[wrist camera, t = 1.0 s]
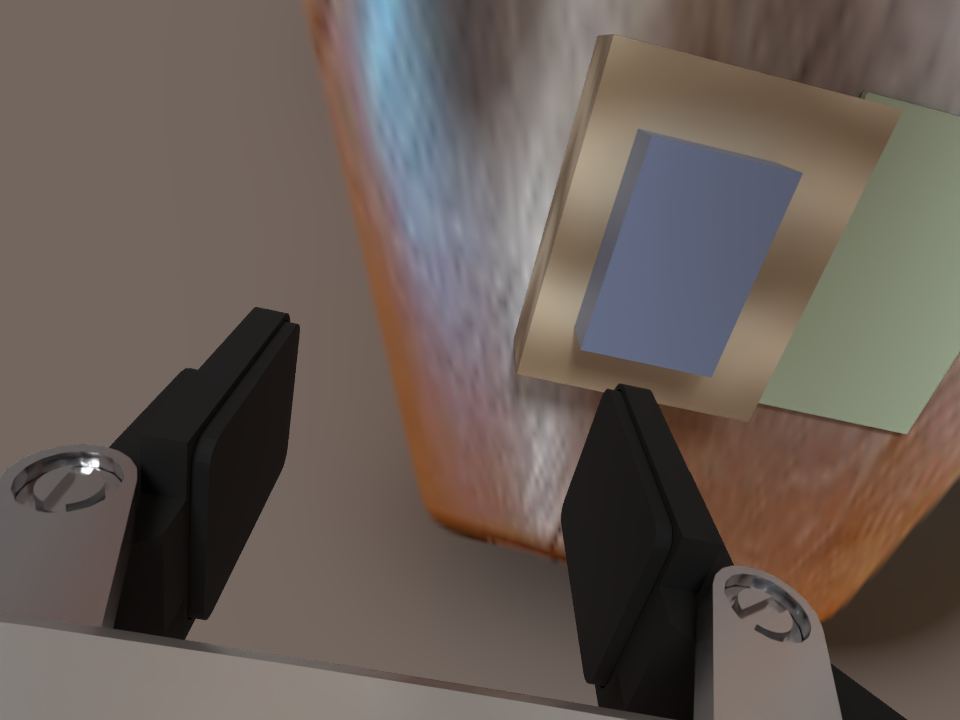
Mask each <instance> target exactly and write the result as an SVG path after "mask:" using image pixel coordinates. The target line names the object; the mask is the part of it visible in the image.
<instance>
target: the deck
mask: <svg viewBox="0 0 960 720" xmlns="http://www.w3.org/2000/svg"><path fill="white" fill-rule="evenodd" d="M902 112H903V109H899V108H895V107H892V106H888V105H884V104H880V103H876V102H872V101H869V100H865V99H861V98H857V97H853V96H849V95H845V94H842V93H838V92H834V91H830V90H826V89H822V88H819V87H815V86H811V85H807V84H803V83H799V82H796V81H792V80H788V79H784V78H780V77H776V76H772V75H769V74H765V73H761V72H757V71H753V70H749V69H746V68H742V67H738V66H734V65H730V64H726V63H722V62H719V61H715V60H711V59H707V58H703V57H699V56H696V55H692V54H688V53H684V52H680V51H676V50H673V49H669V48H665V47H661V46H657V45H653V44H649V43H646V42H642V41H638V40H634V39H630V38H626V37H623V36H619V35H615V34H612V35H602V36H598V37H597V41H596V44H595V48H594V52H593V55H592V59H591V63H590V66H589V70H588V73H587V77H586V81H585V84H584V88H583V91H582V95H581V99H580V102H579V106H578V110H577V113H576V117H575V120H574V124H573V128H572V131H571V135H570V138H569V142H568V146H567V149H566V153H565V157H564V160H563V164H562V167H561V171H560V175H559V178H558V182H557V185H556V189H555V193H554V196H553V200H552V204H551V207H550V211H549V214H548V218H547V222H546V225H545V229H544V232H543V236H542V240H541V243H540V247H539V251H538V254H537V258H536V261H535V265H534V269H533V272H532V276H531V279H530V283H529V287H528V290H527V294H526V298H525V301H524V305H523V308H522V312H521V316H520V319H519V323H518V326H517V330H516V334H515V337H514V348H515V360H516V372H517V374H518V375H523V376H528V377H533V378H537V379H542V380H547V381H552V382H557V383H561V384H566V385H571V386H576V387H581V388H585V389H590V390H595V391H600V392H605V390H606V389H612V390H614V389H615V388H616V386H617V385H618V384H619V383H621V384H626V385H631V386H636V387H640V388H645V389H650V390H651V391H652V393H653V395H654V397H655V399H656V401H657V404H662V405H667V406H672V407H677V408H681V409H686V410H691V411H696V412H701V413H706V414H710V415H715V416H720V417H725V418H730V419H734V420H739V421H744V422H749V421H750V419H751V417H752V415H753V413H754V411H755V409H756V407H757V405H758V403H759V401H760V399H761V397H762V395H763V393H764V390H765V388H766V386H767V384H768V382H769V380H770V378H771V376H772V374H773V372H774V370H775V368H776V366H777V364H778V362H779V360H780V358H781V356H782V354H783V352H784V350H785V348H786V346H787V344H788V342H789V340H790V338H791V336H792V334H793V332H794V330H795V328H796V326H797V324H798V322H799V320H800V318H801V316H802V314H803V312H804V310H805V308H806V306H807V304H808V302H809V300H810V298H811V296H812V294H813V292H814V290H815V288H816V286H817V284H818V282H819V280H820V278H821V275H822V273H823V271H824V269H825V267H826V265H827V263H828V261H829V259H830V257H831V255H832V253H833V251H834V249H835V247H836V245H837V243H838V241H839V239H840V237H841V235H842V233H843V231H844V229H845V227H846V225H847V223H848V221H849V219H850V217H851V215H852V213H853V211H854V209H855V207H856V205H857V203H858V201H859V199H860V197H861V195H862V193H863V191H864V189H865V187H866V185H867V183H868V181H869V179H870V177H871V175H872V173H873V171H874V169H875V167H876V165H877V163H878V160H879V158H880V156H881V154H882V152H883V150H884V148H885V146H886V144H887V142H888V140H889V138H890V136H891V134H892V132H893V130H894V128H895V126H896V124H897V122H898V120H899V118H900V116H901V114H902ZM638 128H639V129H643V130H647V131H651V132H655V133H659V134H663V135H667V136H671V137H675V138H679V139H683V140H687V141H691V142H695V143H699V144H703V145H707V146H711V147H715V148H720V149H724V150H728V151H732V152H736V153H740V154H744V155H748V156H752V157H756V158H760V159H764V160H768V161H772V162H776V163H779V164H781V165H784V166H786V167H789V168H791V169H794V170H796V171H799V172H801V173H803V174H802V177H801V179H800V181H799V183H798V186H797V188H796V190H795V192H794V194H793V197H792V199H791V201H790V203H789V206H788V208H787V210H786V212H785V215H784V217H783V219H782V221H781V224H780V226H779V228H778V230H777V232H776V235H775V237H774V239H773V241H772V244H771V246H770V248H769V250H768V253H767V255H766V257H765V259H764V262H763V264H762V266H761V268H760V271H759V273H758V275H757V277H756V279H755V282H754V284H753V286H752V288H751V291H750V293H749V295H748V297H747V300H746V302H745V304H744V306H743V309H742V311H741V313H740V315H739V317H738V320H737V322H736V324H735V326H734V329H733V331H732V333H731V335H730V338H729V340H728V342H727V344H726V347H725V349H724V351H723V353H722V355H721V358H720V360H719V362H718V364H717V367H716V369H715V371H714V373H713V376H712V378H710V377H706V376H701V375H696V374H692V373H687V372H682V371H678V370H673V369H668V368H664V367H659V366H654V365H650V364H645V363H640V362H635V361H631V360H626V359H621V358H617V357H612V356H607V355H603V354H598V353H593V352H589V351H584V350H581V349H580V346H579V342H578V339H577V336H576V332H575V329H574V326H575V323H576V320H577V317H578V314H579V311H580V308H581V304H582V301H583V298H584V295H585V292H586V289H587V286H588V283H589V280H590V276H591V273H592V270H593V267H594V264H595V261H596V258H597V255H598V252H599V248H600V245H601V242H602V239H603V236H604V233H605V230H606V227H607V224H608V220H609V217H610V214H611V211H612V208H613V205H614V202H615V199H616V196H617V192H618V189H619V186H620V183H621V180H622V177H623V174H624V171H625V167H626V164H627V161H628V158H629V155H630V152H631V149H632V146H633V143H634V139H635V136H636V133H637V130H638Z"/></svg>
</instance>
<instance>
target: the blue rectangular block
mask: <svg viewBox="0 0 960 720" xmlns="http://www.w3.org/2000/svg"><path fill="white" fill-rule="evenodd" d="M802 174H803V173H801V172H799V171H796V170H794V169H791V168H789V167H786V166H784V165H781V164H779V163H776V162H772V161H768V160H764V159H760V158H756V157H752V156H748V155H744V154H740V153H736V152H732V151H728V150H724V149H720V148H715V147H711V146H707V145H703V144H699V143H695V142H691V141H687V140H683V139H679V138H675V137H671V136H667V135H663V134H659V133H655V132H651V131H647V130H643V129H639V128H638V130H637V133H636V136H635V139H634V143H633V146H632V149H631V152H630V155H629V158H628V161H627V164H626V167H625V171H624V174H623V177H622V180H621V183H620V186H619V189H618V192H617V196H616V199H615V202H614V205H613V208H612V211H611V214H610V217H609V220H608V224H607V227H606V230H605V233H604V236H603V239H602V242H601V245H600V248H599V252H598V255H597V258H596V261H595V264H594V267H593V270H592V273H591V276H590V280H589V283H588V286H587V289H586V292H585V295H584V298H583V301H582V304H581V308H580V311H579V314H578V317H577V320H576V323H575V326H574V329H575V332H576V336H577V339H578V342H579V346H580V349H581V350H584V351H589V352H593V353H598V354H603V355H607V356H612V357H617V358H621V359H626V360H631V361H635V362H640V363H645V364H650V365H654V366H659V367H664V368H668V369H673V370H678V371H682V372H687V373H692V374H696V375H701V376H706V377H710V378H712V376H713V373H714V371H715V369H716V367H717V364H718V362H719V360H720V358H721V355H722V353H723V351H724V349H725V347H726V344H727V342H728V340H729V338H730V335H731V333H732V331H733V329H734V326H735V324H736V322H737V320H738V317H739V315H740V313H741V311H742V309H743V306H744V304H745V302H746V300H747V297H748V295H749V293H750V291H751V288H752V286H753V284H754V282H755V279H756V277H757V275H758V273H759V271H760V268H761V266H762V264H763V262H764V259H765V257H766V255H767V253H768V250H769V248H770V246H771V244H772V241H773V239H774V237H775V235H776V232H777V230H778V228H779V226H780V224H781V221H782V219H783V217H784V215H785V212H786V210H787V208H788V206H789V203H790V201H791V199H792V197H793V194H794V192H795V190H796V188H797V186H798V183H799V181H800V179H801V177H802Z"/></svg>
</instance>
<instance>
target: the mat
mask: <svg viewBox="0 0 960 720" xmlns="http://www.w3.org/2000/svg"><path fill="white" fill-rule="evenodd" d="M860 98H861V99H865V100H869V101H872V102H876V103H880V104H884V105H888V106H892V107H895V108H899V109H903V112H902V114H901V116H900V118H899V120H898V122H897V124H896V126H895V128H894V130H893V132H892V134H891V136H890V138H889V140H888V142H887V144H886V146H885V148H884V150H883V152H882V154H881V156H880V158H879V160H878V163H877V165H876V167H875V169H874V171H873V173H872V175H871V177H870V179H869V181H868V183H867V185H866V187H865V189H864V191H863V193H862V195H861V197H860V199H859V201H858V203H857V205H856V207H855V209H854V211H853V213H852V215H851V217H850V219H849V221H848V223H847V225H846V227H845V229H844V231H843V233H842V235H841V237H840V239H839V241H838V243H837V245H836V247H835V249H834V251H833V253H832V255H831V257H830V259H829V261H828V263H827V265H826V267H825V269H824V271H823V273H822V275H821V278H820V280H819V282H818V284H817V286H816V288H815V290H814V292H813V294H812V296H811V298H810V300H809V302H808V304H807V306H806V308H805V310H804V312H803V314H802V316H801V318H800V320H799V322H798V324H797V326H796V328H795V330H794V332H793V334H792V336H791V338H790V340H789V342H788V344H787V346H786V348H785V350H784V352H783V354H782V356H781V358H780V360H779V362H778V364H777V366H776V368H775V370H774V372H773V374H772V376H771V378H770V380H769V382H768V384H767V386H766V388H765V390H764V393H763V395H762V397H761V399H760V401H759V403H760V404H765V405H770V406H775V407H779V408H784V409H789V410H794V411H798V412H803V413H808V414H813V415H817V416H822V417H827V418H832V419H836V420H841V421H846V422H850V423H855V424H860V425H865V426H869V427H874V428H879V429H884V430H888V431H893V432H898V433H903V434H908V432H909V431H910V429H911V427H912V426H913V424H914V423H915V421H916V420H917V418H918V416H919V415H920V413H921V412H922V410H923V409H924V407H925V405H926V404H927V402H928V401H929V399H930V398H931V396H932V394H933V393H934V391H935V390H936V388H937V387H938V385H939V383H940V382H941V380H942V379H943V377H944V376H945V374H946V372H947V371H948V369H949V368H950V366H951V365H952V363H953V361H954V360H955V358H956V357H957V355H958V354H959V352H960V116H957V115H953V114H949V113H946V112H942V111H938V110H934V109H930V108H926V107H923V106H919V105H915V104H911V103H907V102H903V101H900V100H896V99H892V98H888V97H884V96H880V95H877V94H873V93H869V92H863V93H862V95H861V97H860Z"/></svg>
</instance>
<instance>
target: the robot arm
mask: <svg viewBox="0 0 960 720" xmlns="http://www.w3.org/2000/svg"><path fill="white" fill-rule="evenodd" d="M299 334H300V326H299V324H295V323H290V317H289V314H287V313H283V312H278V311H272V310H268V309H263V308H258V307H255V308H254V309H253V310H252V311H251V312H250V313H249V314H248V315H247V316H246V317H245V319H243V321H242V322H241V323H240V324H239V325H238V326H237V327H236V328H235V330H234V331H233V332H232V333H231V334H230V335H229V336H228V337H227V338H226V339H225V341H224V342H223V343H222V344H221V345H220V346H219V347H218V348H217V349H216V351H215V352H214V353H213V354H212V355H211V356H210V357H209V358H208V359H207V360H206V362H205V363H204V364H203V365H202V366H201V367H200V368H199V369H198V370H196V369H191V368H186V369H184V370H183V371H181V372H180V373H179V374H178V375H177V377H175V379H173V381H172V382H171V383H170V384H169V385H168V386H167V387H166V388H165V389H164V390H163V391H162V392H161V393H160V394H159V395H158V396H157V397H156V398H155V400H154V401H153V402H152V403H151V404H150V405H149V406H148V407H147V408H146V409H145V410H144V411H143V412H142V413H141V414H140V415H139V416H138V417H137V418H136V420H134V422H133V423H132V424H131V425H130V426H129V427H128V428H127V429H126V430H125V431H124V432H123V433H122V434H121V435H120V436H119V438H117V439H116V440H115V442H114V443H113V444H112V445H111V446H110V447H109V448H108V447H104V446H98V445H85V444H79V445H67V446H59V447H55V448H51V449H46V450H42V451H40V452H37V453H35V454H32V455H30V456H27V457H25V458H23V459H21V460H20V461H18V462H17V463H15V464H14V465H12V466H11V467H9V468H8V469H7V470H6V471H5V472H4V473H3V474H2V476H1V477H0V720H907V719H905V718H904V717H903V716H901V715H900V714H899V713H897V712H896V711H895V710H893V709H892V708H890V707H889V706H888V705H886V704H885V703H883V702H882V701H881V700H880V699H878V698H877V697H876V696H874V695H873V694H871V693H870V692H869V691H867V690H866V689H865V688H863V687H862V686H861V685H859V684H858V683H857V682H855V681H854V680H853V679H851V678H850V677H848V676H847V675H846V674H844V673H843V672H842V671H840V670H839V669H837V668H836V667H835V666H833V665H832V664H831V663H830V660H829V655H828V651H827V646H826V641H825V637H824V632H823V628H822V626H821V623H820V621H819V618H818V616H817V614H816V613H815V612H814V610H813V609H812V608H811V606H810V605H809V603H808V602H807V601H806V600H805V599H804V598H803V597H802V596H801V595H799V594H798V593H797V592H796V591H795V590H794V589H793V588H791V587H790V586H789V585H787V584H786V583H784V582H783V581H781V580H780V579H778V578H776V577H774V576H772V575H770V574H768V573H766V572H764V571H762V570H758V569H755V568H751V567H748V566H737V565H734V564H733V562H732V560H731V558H730V556H729V554H728V552H727V549H726V547H725V545H724V543H723V541H722V539H721V537H720V535H719V532H718V530H717V528H716V526H715V524H714V522H713V520H712V517H711V515H710V513H709V511H708V509H707V507H706V505H705V503H704V500H703V498H702V496H701V494H700V492H699V490H698V488H697V486H696V483H695V481H694V479H693V477H692V475H691V473H690V472H689V470H688V468H687V466H686V463H685V461H684V459H683V457H682V455H681V453H680V451H679V448H678V446H677V444H676V442H675V440H674V438H673V436H672V434H671V431H670V429H669V427H668V425H667V423H666V421H665V419H664V416H663V414H662V412H661V410H660V408H659V406H658V404H657V401H656V399H655V397H654V395H653V393H652V391H651V390H650V389H645V388H640V387H636V386H631V385H626V384H621V383H619V384H618V385H617V386H616V388H615V389H614V390H612V389H606V390H605V392H604V393H603V396H602V398H601V401H600V404H599V406H598V409H597V412H596V415H595V417H594V420H593V423H592V426H591V428H590V431H589V434H588V437H587V439H586V442H585V445H584V448H583V450H582V453H581V456H580V459H579V461H578V464H577V467H576V470H575V472H574V475H573V478H572V481H571V483H570V486H569V489H568V492H567V494H566V497H565V500H564V503H563V507H562V513H561V525H562V532H563V539H564V545H565V552H566V559H567V565H568V572H569V579H570V585H571V592H572V599H573V605H574V612H575V619H576V625H577V632H578V639H579V645H580V652H581V659H582V666H583V673H584V677H585V680H586V682H587V683H589V684H595V688H596V694H597V700H598V706H599V707H596V706H591V705H585V704H579V703H573V702H567V701H561V700H555V699H549V698H543V697H537V696H531V695H525V694H519V693H513V692H506V691H500V690H494V689H488V688H482V687H476V686H470V685H463V684H457V683H452V682H445V681H439V680H433V679H426V678H420V677H414V676H408V675H402V674H396V673H390V672H383V671H377V670H371V669H365V668H359V667H353V666H346V665H340V664H334V663H328V662H321V661H315V660H309V659H303V658H296V657H290V656H284V655H277V654H270V653H264V652H258V651H252V650H245V649H239V648H232V647H225V646H220V645H213V644H207V643H200V642H194V641H188V640H185V638H186V636H187V634H188V632H189V630H190V629H191V627H192V624H193V623H194V621H195V619H202V620H207V619H208V618H209V616H210V615H211V613H212V611H213V609H214V607H215V605H216V603H217V601H218V599H219V597H220V595H221V593H222V591H223V589H224V587H225V584H226V583H227V581H228V579H229V576H230V575H231V572H232V570H233V568H234V566H235V564H236V562H237V560H238V558H239V556H240V554H241V552H242V550H243V548H244V546H245V544H246V542H247V540H248V538H249V536H250V534H251V532H252V530H253V528H254V526H255V524H256V521H257V520H258V517H259V515H260V514H261V512H262V509H263V507H264V505H265V503H266V501H267V499H268V497H269V495H270V493H271V491H272V489H273V487H274V485H275V483H276V481H277V479H278V477H279V475H280V473H281V471H282V468H283V466H284V463H285V458H286V454H287V448H288V439H289V429H290V420H291V410H292V401H293V391H294V382H295V373H296V362H297V354H298V344H299Z"/></svg>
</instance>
